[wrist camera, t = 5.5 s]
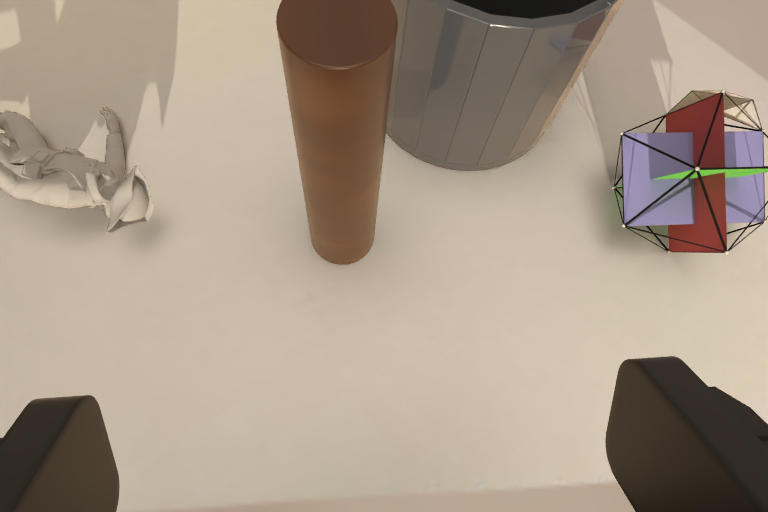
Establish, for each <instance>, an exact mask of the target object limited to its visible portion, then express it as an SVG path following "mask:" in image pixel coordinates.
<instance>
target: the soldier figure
mask: <svg viewBox="0 0 768 512" xmlns="http://www.w3.org/2000/svg"><path fill="white" fill-rule="evenodd" d="M103 110H104V111H106V113H107V114H106V113H105V112H103V111H102V110H99V111H100V112H101V113H102V114H103V115H104V117H105V120H106V124H107V128H108V130H109V131H110V134H109V135H107V144H106V155H105V163H103V162H99V161H98V160H94V159H90V158H86V157H84V154H82V153H81V152H79V151H78V150H75V149H70V148H65V150H63V151H61V150H52V149H49V148H48V146H47V145H46V143H45V141H44V139H43V137H42V135H41V133H40V132H39V131H38V129H37V128H36V127H35V125H34V124H33V123H32V122H31V120H30V119H28V118H26V117H25V116H23V115H20V114H18V113H16V112H11V111H5V112H4V113H2V112H0V133H4V135H5V137H7V138H9V139H10V147H9V146H7V145H6V144H4V143H3V142H2V141H0V187H1V188H2V189H3V190H5V191H6V192H7V193H8V194H10V195H11V196H13V197H15V198H18V199H27V200H31V201H33V202H36V203H40V204H44V205H50V206H54V207H61V208H78V207H82V206H88V207H89V208H95V207H96V205H104V206H105V209H106V215H107V217H108V218H109V224H108V228H107V233H112V232H115V231H117V230H119V229H121V228H123V227H126V226H130V225H133V224H136V223H139V222H144V221H149V218H150V216H151V215H152V213H153V211H154V203H153V201H152V199H151V196H150V191H149V186H148V183H147V181H146V179H145V177H144V175H143V174H142V173H141V171H140V169H139V167H138V166H135V167H134V168H133V170H132V171H131V172H130V174H129V175H128V177H126V173H125V168H126V163H125V157H124V149H123V141H122V135H121V134H120V127H119V120H118V118H117V115H116V113H115V112H114V111H113V110H112V109H109V108H108V107H106V108H104V107H103ZM100 208H101V207H100ZM102 210H103V209H102ZM103 212H104V210H103ZM104 214H105V213H104Z"/></svg>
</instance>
